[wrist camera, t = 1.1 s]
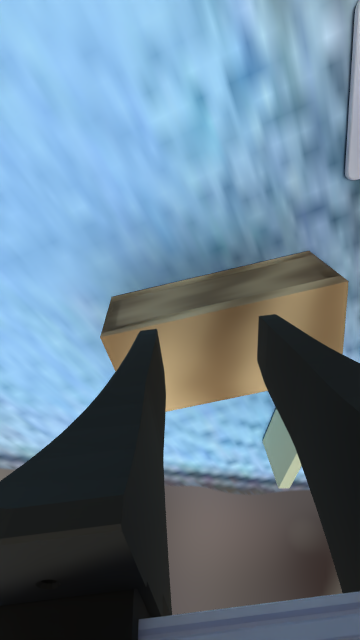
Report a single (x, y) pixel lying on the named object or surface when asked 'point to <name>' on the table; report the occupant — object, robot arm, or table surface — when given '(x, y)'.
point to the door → (281, 452)
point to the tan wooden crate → (227, 323)
